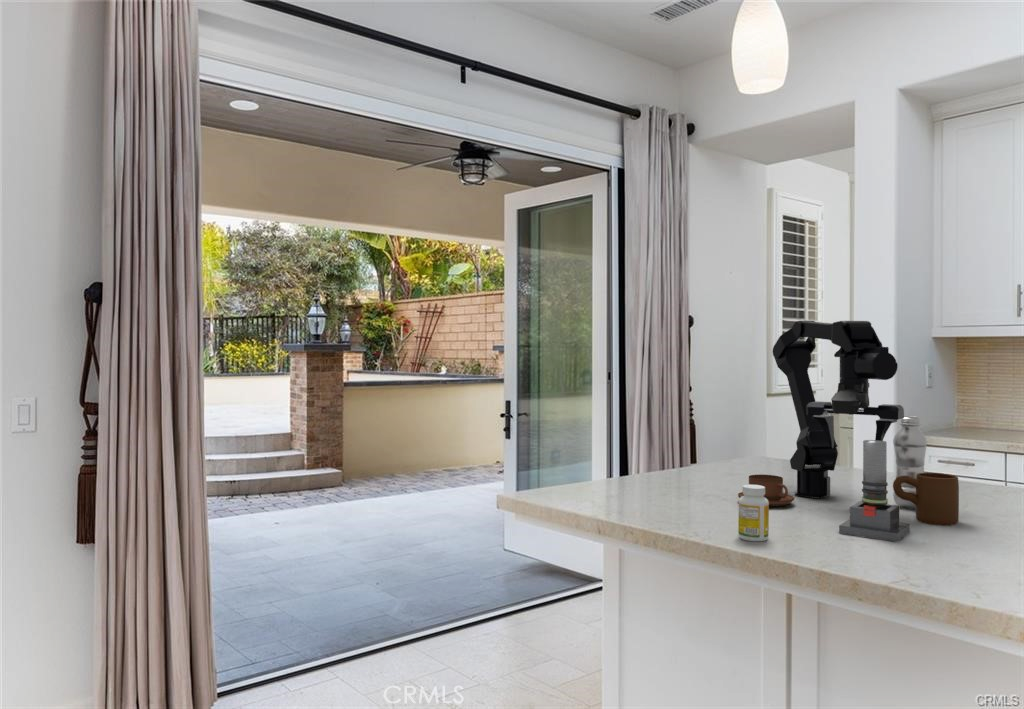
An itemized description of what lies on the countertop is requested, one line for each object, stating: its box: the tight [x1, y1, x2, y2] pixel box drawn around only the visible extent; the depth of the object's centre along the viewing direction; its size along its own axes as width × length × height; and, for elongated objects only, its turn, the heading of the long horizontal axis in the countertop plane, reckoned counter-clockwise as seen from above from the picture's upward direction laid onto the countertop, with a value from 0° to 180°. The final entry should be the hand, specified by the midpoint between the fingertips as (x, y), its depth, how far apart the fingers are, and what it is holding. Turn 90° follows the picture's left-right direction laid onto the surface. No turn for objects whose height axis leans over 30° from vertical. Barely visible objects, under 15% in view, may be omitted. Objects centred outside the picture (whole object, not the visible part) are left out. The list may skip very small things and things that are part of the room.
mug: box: [892, 472, 960, 526], centre depth 151 cm, size 12×8×9 cm, turn 77°
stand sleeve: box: [838, 500, 911, 543], centre depth 142 cm, size 10×10×6 cm
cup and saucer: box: [737, 474, 795, 507], centre depth 169 cm, size 12×12×6 cm
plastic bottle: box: [892, 415, 928, 509], centre depth 164 cm, size 6×7×20 cm
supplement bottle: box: [737, 484, 770, 542], centre depth 138 cm, size 5×5×10 cm
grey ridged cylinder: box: [861, 439, 889, 505], centre depth 142 cm, size 4×4×12 cm
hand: (853, 449), depth 162 cm, fingers open, 9 cm apart
